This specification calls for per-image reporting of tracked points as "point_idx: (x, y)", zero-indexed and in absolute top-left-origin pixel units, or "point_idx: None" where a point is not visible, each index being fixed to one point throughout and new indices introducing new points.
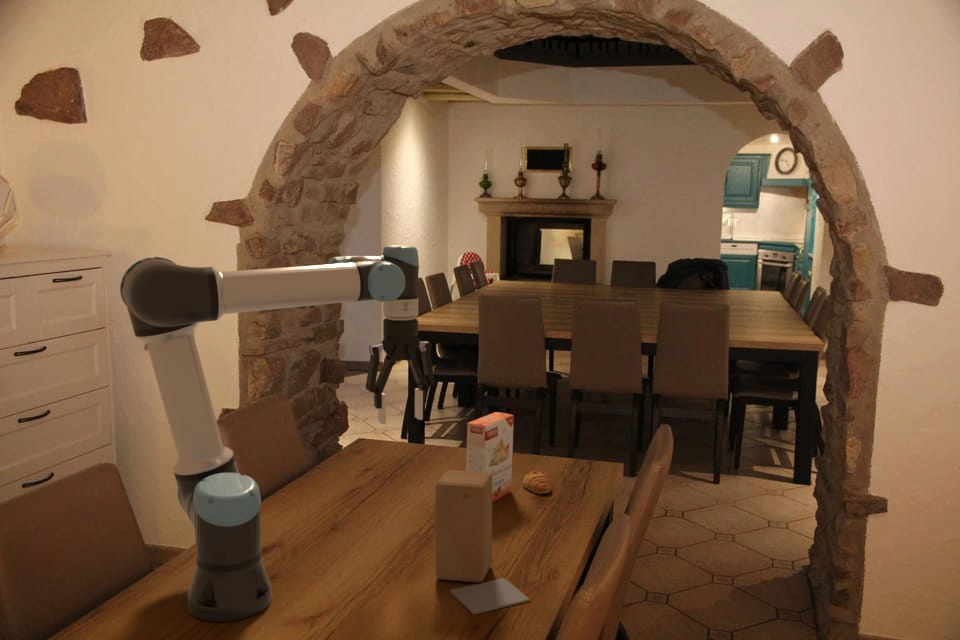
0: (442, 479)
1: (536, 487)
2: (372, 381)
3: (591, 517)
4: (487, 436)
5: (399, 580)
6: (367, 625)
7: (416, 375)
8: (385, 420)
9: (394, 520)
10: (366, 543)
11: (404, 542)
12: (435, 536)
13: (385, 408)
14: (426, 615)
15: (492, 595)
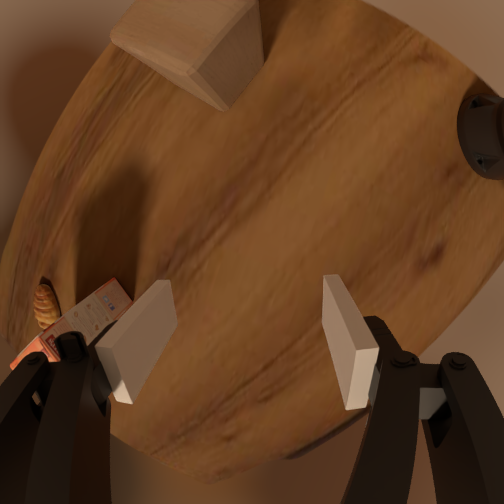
0: (231, 3)
1: (48, 295)
2: (481, 400)
3: (24, 197)
4: (47, 327)
5: (311, 84)
6: (373, 14)
7: (83, 433)
8: (328, 280)
9: (248, 286)
10: (317, 220)
11: (262, 200)
12: (261, 42)
13: (339, 305)
14: (306, 2)
15: None
